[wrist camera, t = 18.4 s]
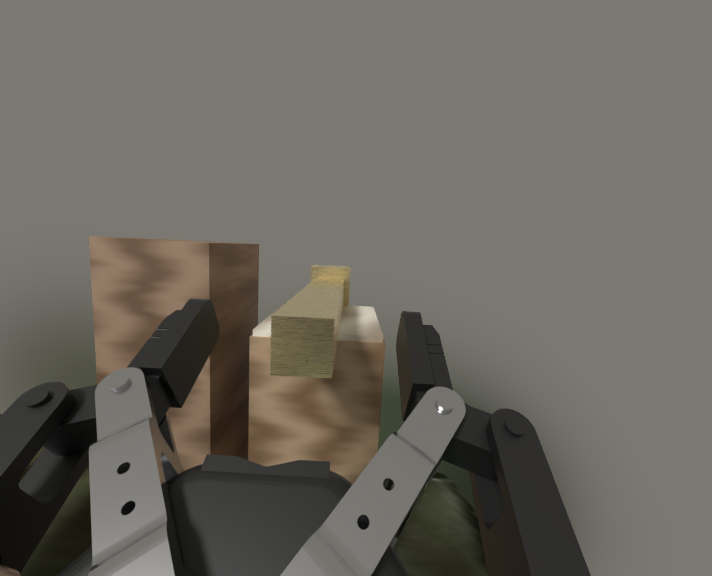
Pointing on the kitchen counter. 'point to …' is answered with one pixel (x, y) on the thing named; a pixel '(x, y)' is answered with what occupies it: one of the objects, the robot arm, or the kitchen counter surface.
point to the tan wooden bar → (310, 325)
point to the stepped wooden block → (238, 357)
